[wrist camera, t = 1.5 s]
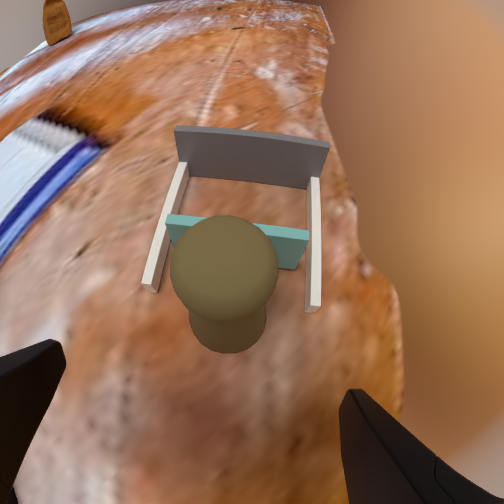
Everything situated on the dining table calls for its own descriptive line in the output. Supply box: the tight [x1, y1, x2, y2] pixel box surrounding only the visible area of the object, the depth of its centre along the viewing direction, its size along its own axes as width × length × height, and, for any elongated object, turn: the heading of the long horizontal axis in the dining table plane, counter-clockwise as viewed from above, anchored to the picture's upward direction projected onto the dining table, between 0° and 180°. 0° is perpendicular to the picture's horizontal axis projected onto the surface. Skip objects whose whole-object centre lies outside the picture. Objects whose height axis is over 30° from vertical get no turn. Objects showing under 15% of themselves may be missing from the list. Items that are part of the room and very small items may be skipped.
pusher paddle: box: [165, 214, 309, 270], centre depth 22 cm, size 1×10×5 cm, turn 84°
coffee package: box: [43, 0, 72, 45], centre depth 47 cm, size 10×12×22 cm
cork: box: [170, 215, 279, 354], centre depth 17 cm, size 6×6×11 cm
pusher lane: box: [142, 126, 330, 313], centre depth 23 cm, size 13×14×6 cm
